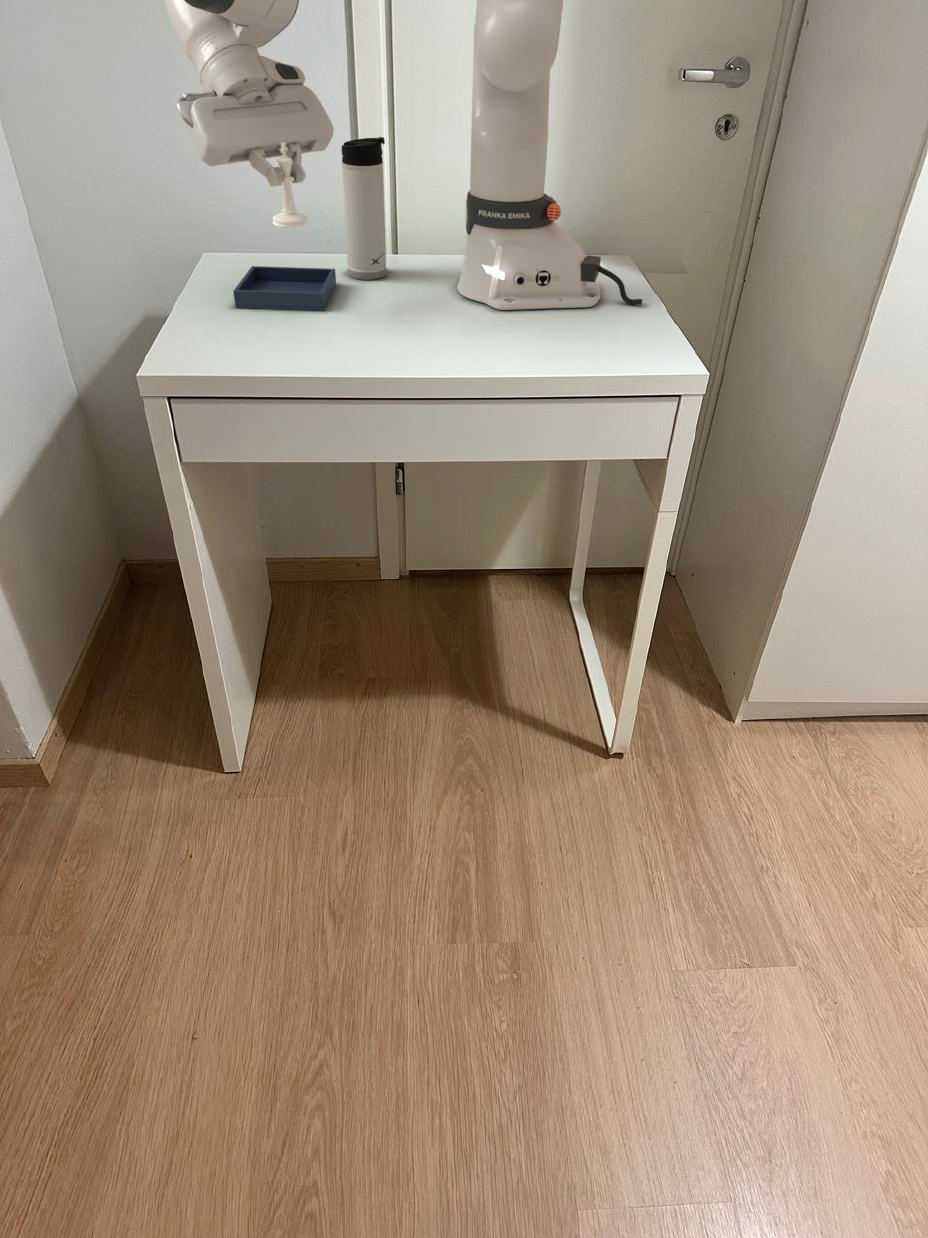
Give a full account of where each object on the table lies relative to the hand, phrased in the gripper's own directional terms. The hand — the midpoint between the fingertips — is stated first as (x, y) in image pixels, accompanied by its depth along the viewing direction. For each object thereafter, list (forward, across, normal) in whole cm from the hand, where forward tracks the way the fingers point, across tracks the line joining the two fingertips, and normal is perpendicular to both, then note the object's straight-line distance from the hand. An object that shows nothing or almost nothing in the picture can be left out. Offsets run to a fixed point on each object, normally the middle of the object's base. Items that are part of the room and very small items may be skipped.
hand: (289, 181), depth 119 cm
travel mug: (+7, +18, +18) cm, 26 cm away
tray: (+8, +2, +17) cm, 19 cm away
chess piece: (+4, 0, +4) cm, 6 cm away
